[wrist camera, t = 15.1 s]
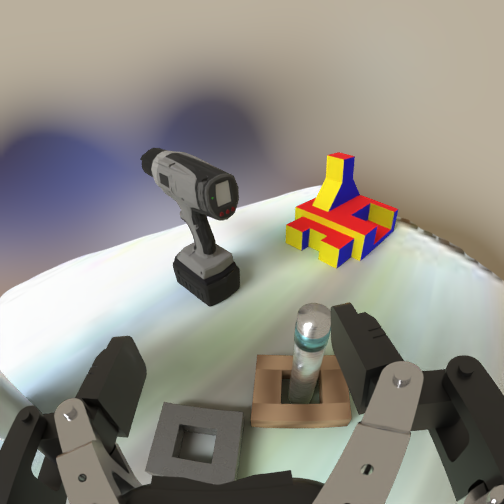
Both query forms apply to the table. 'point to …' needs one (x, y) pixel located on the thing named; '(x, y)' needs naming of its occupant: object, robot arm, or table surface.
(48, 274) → the table surface
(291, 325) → the table surface
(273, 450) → the table surface
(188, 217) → the cordless drill
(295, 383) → the clear test tube
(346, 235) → the building blocks toy
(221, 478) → the grey flat square frame
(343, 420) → the rack block
